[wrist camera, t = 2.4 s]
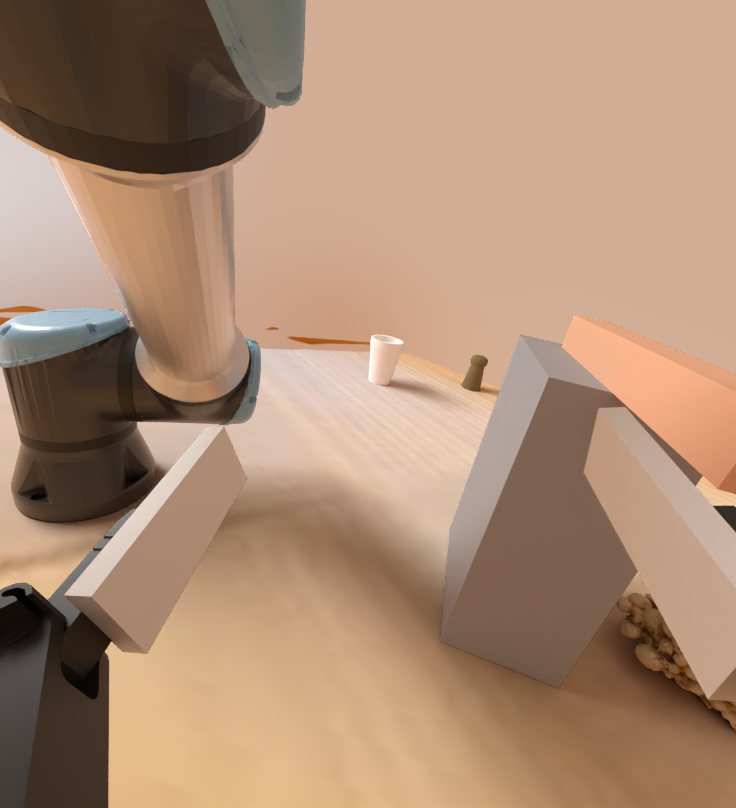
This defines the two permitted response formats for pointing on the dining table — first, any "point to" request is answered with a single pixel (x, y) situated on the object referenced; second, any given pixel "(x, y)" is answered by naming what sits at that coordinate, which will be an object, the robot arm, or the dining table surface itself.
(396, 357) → the foam cup
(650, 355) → the rail
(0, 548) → the dining table surface
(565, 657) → the stand
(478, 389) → the olive pepper mill
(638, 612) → the mineral formation
